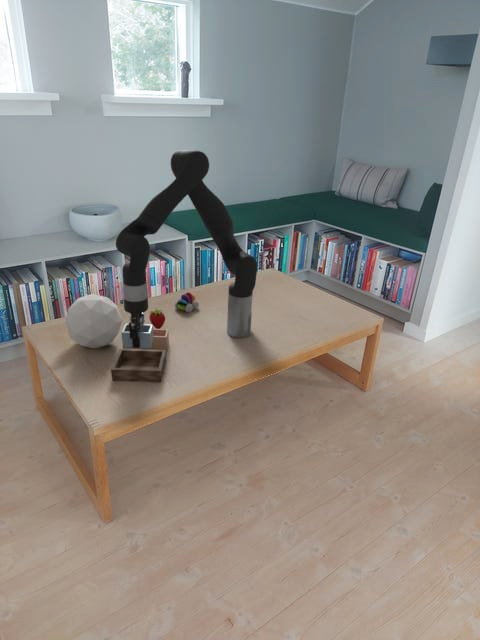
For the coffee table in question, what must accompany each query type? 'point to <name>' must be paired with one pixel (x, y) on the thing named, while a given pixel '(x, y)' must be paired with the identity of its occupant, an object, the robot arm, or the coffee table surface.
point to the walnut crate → (139, 365)
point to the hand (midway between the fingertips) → (138, 341)
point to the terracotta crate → (160, 339)
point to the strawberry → (157, 318)
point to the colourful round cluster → (187, 302)
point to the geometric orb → (93, 321)
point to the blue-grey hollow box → (145, 337)
